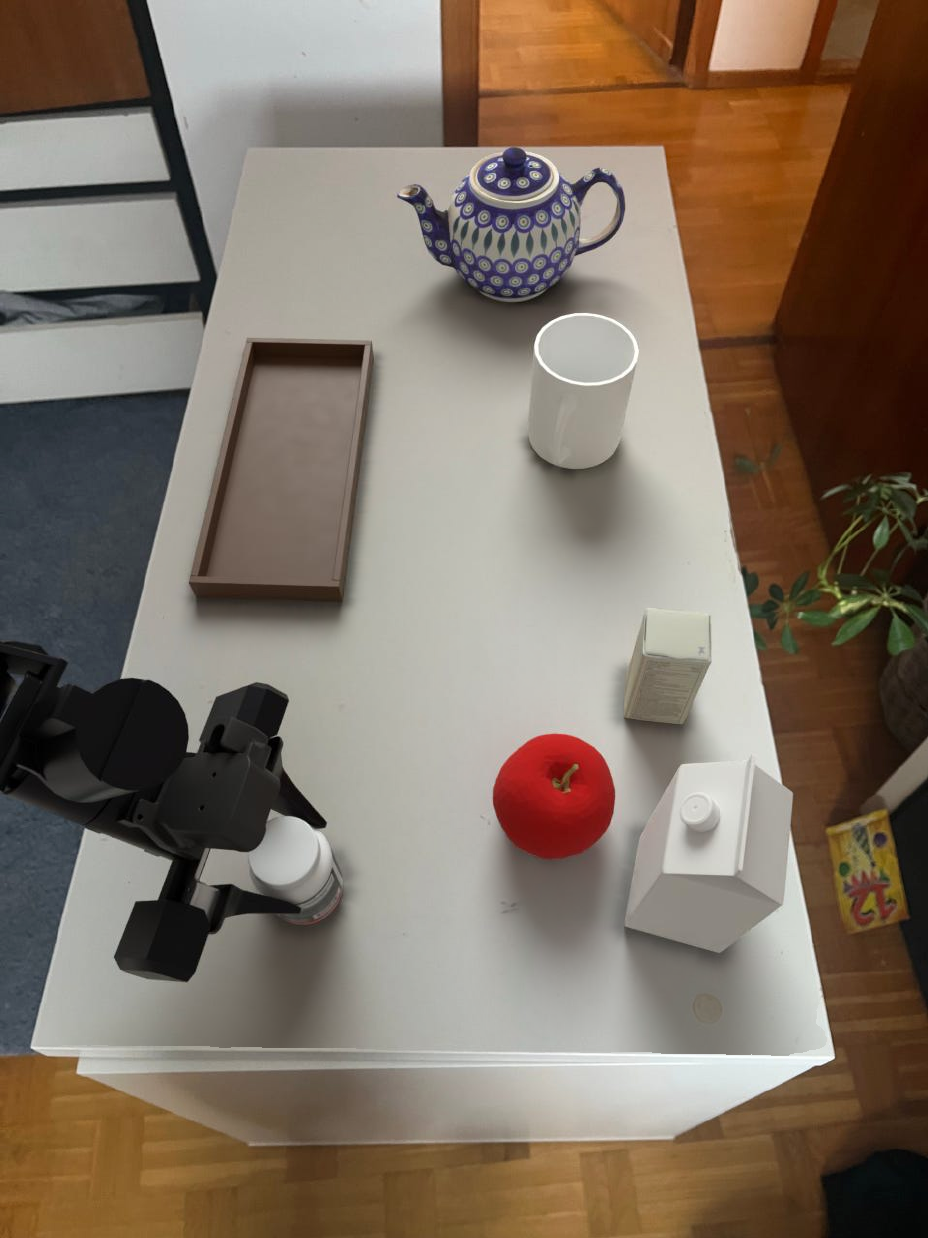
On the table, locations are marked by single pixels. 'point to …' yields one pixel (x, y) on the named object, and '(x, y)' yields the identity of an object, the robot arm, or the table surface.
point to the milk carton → (712, 855)
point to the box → (667, 665)
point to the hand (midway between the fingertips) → (310, 868)
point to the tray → (287, 473)
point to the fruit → (554, 796)
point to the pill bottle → (297, 869)
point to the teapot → (512, 224)
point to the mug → (580, 389)
